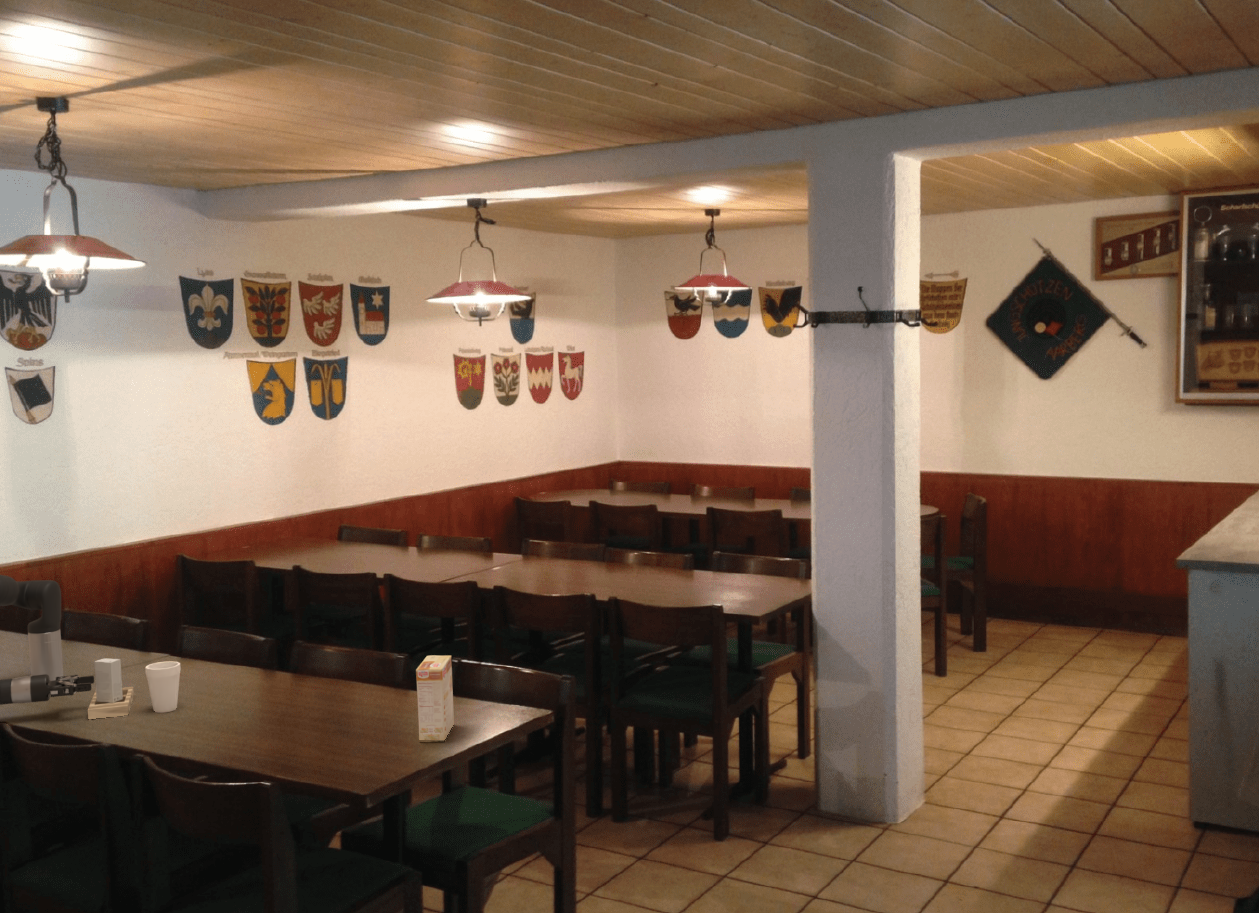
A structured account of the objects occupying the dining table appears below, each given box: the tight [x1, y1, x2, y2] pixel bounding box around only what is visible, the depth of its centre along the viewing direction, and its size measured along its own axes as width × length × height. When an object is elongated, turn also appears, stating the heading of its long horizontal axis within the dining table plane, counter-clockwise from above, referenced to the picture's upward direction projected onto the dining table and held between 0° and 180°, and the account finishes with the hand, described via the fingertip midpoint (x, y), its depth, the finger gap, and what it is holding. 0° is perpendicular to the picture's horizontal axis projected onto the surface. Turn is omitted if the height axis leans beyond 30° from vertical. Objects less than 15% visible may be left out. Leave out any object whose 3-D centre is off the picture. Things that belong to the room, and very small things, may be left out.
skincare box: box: [93, 657, 123, 703], centre depth 349 cm, size 6×4×12 cm
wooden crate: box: [87, 686, 135, 720], centre depth 352 cm, size 22×10×3 cm, turn 19°
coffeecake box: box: [415, 654, 455, 741], centre depth 319 cm, size 15×7×20 cm, turn 178°
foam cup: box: [144, 660, 182, 713], centre depth 349 cm, size 10×9×13 cm
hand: (92, 683), depth 348 cm, fingers open, 8 cm apart
